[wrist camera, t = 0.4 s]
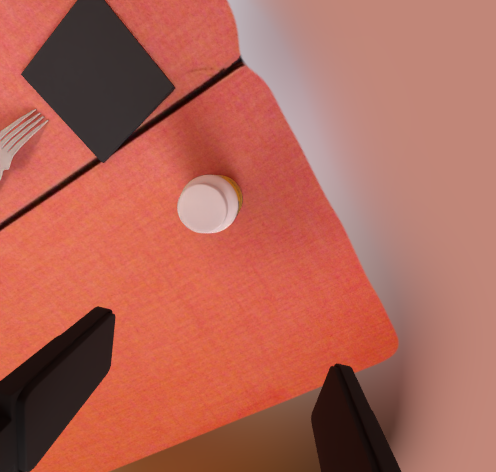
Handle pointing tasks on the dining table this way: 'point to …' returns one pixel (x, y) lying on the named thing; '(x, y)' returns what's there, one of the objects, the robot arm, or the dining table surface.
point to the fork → (16, 139)
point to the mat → (97, 77)
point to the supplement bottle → (209, 203)
